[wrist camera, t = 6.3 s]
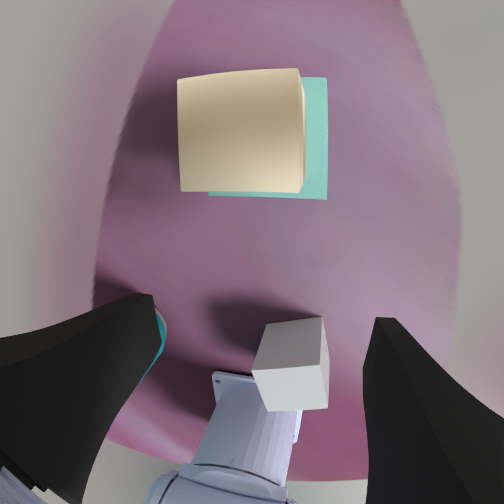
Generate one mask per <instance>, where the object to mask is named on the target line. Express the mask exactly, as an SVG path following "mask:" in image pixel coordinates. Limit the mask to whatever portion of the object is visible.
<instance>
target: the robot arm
mask: <svg viewBox="0 0 504 504" xmlns="http://www.w3.org/2000/svg"><path fill="white" fill-rule="evenodd" d="M161 345H162V339H161V335H160V330H159V326H158V321H157V316H156V311H155V306H154V301H153V296H152V295H149V294H142V293H135V294H132V295H129V296H126V297H123V298H121V299H118V300H115V301H113V302H111V303H108V304H106V305H103V306H101V307H99V308H96V309H94V310H91V311H89V312H87V313H84V314H82V315H79V316H77V317H74V318H71V319H69V320H66V321H63V322H61V323H58V324H55V325H52V326H49V327H46V328H43V329H40V330H36V331H32V332H28V333H24V334H18V335H13V336H8V337H2V338H0V504H47V503H46V502H44V501H43V500H42V499H41V498H39V497H38V496H37V495H36V494H35V493H33V492H32V491H31V490H32V489H33V487H34V486H37V487H38V488H39V489H40V490H41V491H43V492H45V491H46V490H47V489H50V490H51V491H52V492H54V493H55V494H56V495H58V496H59V497H61V498H62V499H63V500H65V501H66V502H68V503H69V504H82V499H83V495H84V492H85V488H86V484H87V481H88V477H89V475H90V472H91V469H92V466H93V464H94V461H95V458H96V456H97V454H98V451H99V449H100V447H101V445H102V442H103V440H104V438H105V436H106V434H107V432H108V430H109V428H110V426H111V424H112V422H113V420H114V419H115V417H116V415H117V414H118V412H119V411H120V409H121V408H122V406H123V405H124V403H125V402H126V400H127V399H128V398H129V396H130V395H131V393H132V392H133V391H134V389H135V388H136V386H137V385H138V384H139V382H140V381H141V379H142V378H143V376H144V375H145V374H146V372H147V371H148V369H149V368H150V366H151V365H152V363H153V361H154V359H155V357H156V355H157V353H158V351H159V349H160V347H161ZM212 381H213V387H214V393H215V400H216V407H215V410H214V412H213V414H212V417H211V419H210V421H209V423H208V426H207V428H206V430H205V433H204V435H203V437H202V439H201V442H200V444H199V446H198V448H197V450H196V453H195V455H194V457H193V459H192V462H191V464H188V463H184V464H183V466H182V468H181V470H180V472H177V471H174V470H172V471H169V472H167V473H165V474H163V475H161V476H159V477H158V478H157V479H156V481H155V482H154V483H153V485H152V486H151V488H150V489H149V491H148V493H147V495H146V497H145V499H144V502H143V504H296V502H295V501H294V500H291V499H286V498H287V493H288V488H287V487H284V485H285V481H286V476H287V471H288V466H289V461H290V455H291V450H292V444H293V443H295V442H297V438H298V433H299V428H300V423H301V417H302V412H303V410H296V411H271V412H268V411H267V409H266V407H265V404H264V402H263V399H262V397H261V394H260V392H259V389H258V386H257V384H256V381H255V379H254V377H251V376H244V375H238V374H232V373H226V372H220V371H215V372H213V374H212ZM363 401H364V410H365V419H366V429H367V439H368V451H369V473H368V486H367V496H366V504H504V418H502V417H501V416H499V415H498V414H496V413H495V412H493V411H492V410H491V409H489V408H488V407H486V406H485V405H484V404H482V403H481V402H480V401H479V400H477V399H476V398H475V397H474V396H473V395H471V394H470V393H469V392H468V391H466V390H465V389H464V388H463V387H462V386H460V384H458V383H457V382H456V381H455V380H454V379H453V378H452V377H451V376H450V375H449V374H448V373H447V372H446V371H445V370H444V369H443V368H442V367H441V366H440V365H439V364H438V363H437V362H436V361H435V360H434V359H433V358H432V357H431V356H430V355H429V354H428V353H427V352H426V351H425V350H424V348H423V347H422V346H421V345H420V344H419V343H418V342H417V341H416V340H415V339H414V338H413V336H412V335H411V334H410V333H409V332H408V331H407V330H406V329H405V328H404V327H403V326H402V325H401V324H400V323H399V322H398V321H397V320H396V319H395V318H384V317H376V319H375V323H374V327H373V331H372V335H371V339H370V343H369V347H368V351H367V354H366V358H365V362H364V365H363Z"/></svg>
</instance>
